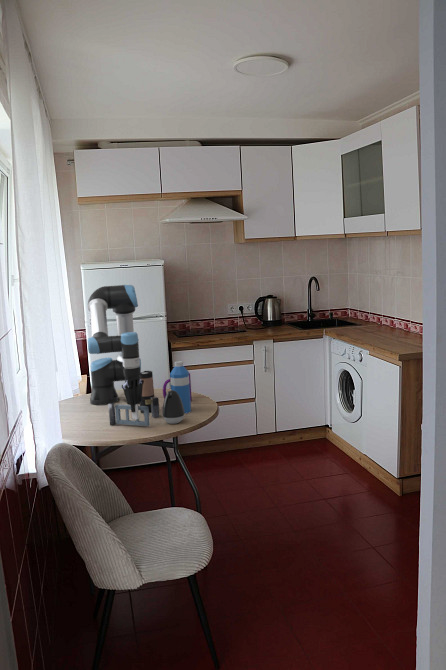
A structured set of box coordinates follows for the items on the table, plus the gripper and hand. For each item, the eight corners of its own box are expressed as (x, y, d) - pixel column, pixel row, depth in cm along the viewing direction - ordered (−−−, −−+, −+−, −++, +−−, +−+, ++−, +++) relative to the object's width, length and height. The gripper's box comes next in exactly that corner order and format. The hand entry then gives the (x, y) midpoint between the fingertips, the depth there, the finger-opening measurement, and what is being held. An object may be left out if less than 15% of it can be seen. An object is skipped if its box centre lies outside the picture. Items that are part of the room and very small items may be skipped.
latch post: (146, 417, 273) (145, 397, 271) (157, 415, 275) (155, 396, 274) (149, 419, 270) (147, 399, 268) (159, 417, 272) (158, 397, 271)
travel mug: (152, 413, 279) (149, 373, 276) (137, 413, 280) (134, 373, 278) (157, 409, 286) (154, 370, 283) (142, 409, 288) (140, 370, 285)
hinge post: (109, 424, 264) (107, 403, 263) (115, 423, 265) (113, 402, 264) (110, 425, 262) (109, 404, 260) (116, 424, 263) (115, 403, 261)
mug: (194, 401, 297) (193, 373, 295) (167, 406, 290) (165, 378, 288) (187, 398, 305) (185, 371, 303) (160, 403, 298) (158, 375, 296)
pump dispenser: (159, 425, 258) (157, 392, 256) (167, 418, 268) (165, 387, 266) (180, 426, 256) (178, 393, 253) (188, 419, 266) (186, 387, 263)
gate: (118, 422, 263) (116, 404, 262) (149, 425, 257) (148, 406, 256) (116, 423, 262) (114, 405, 260) (148, 426, 256) (146, 407, 254)
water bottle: (179, 408, 286) (176, 359, 282) (194, 410, 281) (191, 360, 278) (168, 413, 278) (165, 363, 274) (184, 415, 273) (181, 364, 270)
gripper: (128, 370, 244) (132, 423, 247) (147, 364, 255) (151, 415, 258) (115, 369, 248) (119, 421, 251) (134, 364, 259) (138, 414, 262)
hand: (135, 418), depth 254 cm, fingers closed
